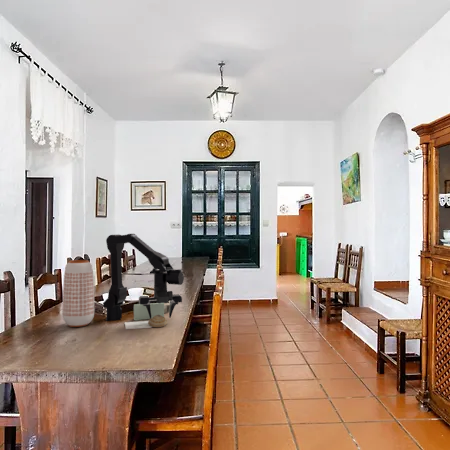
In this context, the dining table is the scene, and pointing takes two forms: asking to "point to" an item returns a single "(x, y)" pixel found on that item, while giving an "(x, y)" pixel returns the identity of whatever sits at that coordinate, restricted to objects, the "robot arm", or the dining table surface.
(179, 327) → the dining table surface
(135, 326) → the tile
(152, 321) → the seashell
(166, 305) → the small beige block
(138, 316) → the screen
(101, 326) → the dining table surface
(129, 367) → the dining table surface
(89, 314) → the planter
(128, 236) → the robot arm
